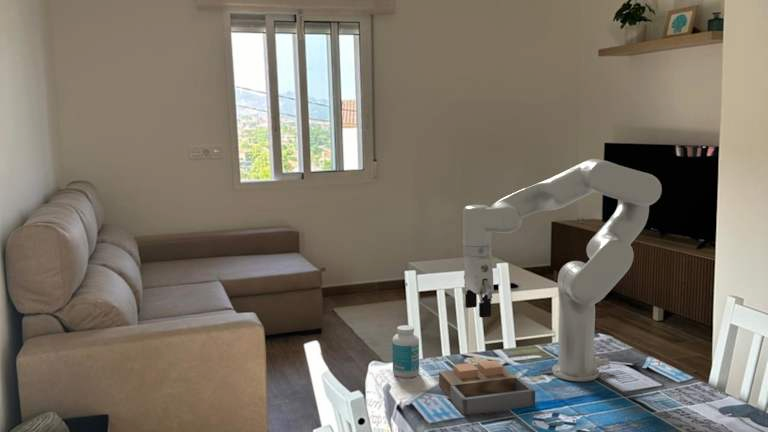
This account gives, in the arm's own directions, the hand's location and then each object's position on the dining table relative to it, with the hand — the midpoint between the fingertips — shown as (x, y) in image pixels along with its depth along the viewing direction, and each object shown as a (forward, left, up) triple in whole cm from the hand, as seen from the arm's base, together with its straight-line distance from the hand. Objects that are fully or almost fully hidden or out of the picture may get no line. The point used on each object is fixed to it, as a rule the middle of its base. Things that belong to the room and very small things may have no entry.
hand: (477, 311), depth 190 cm
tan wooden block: (+4, +9, -18) cm, 21 cm away
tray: (+4, +18, -18) cm, 26 cm away
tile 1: (+7, +8, -14) cm, 18 cm away
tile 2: (0, +8, -14) cm, 16 cm away
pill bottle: (+19, -7, -19) cm, 27 cm away
